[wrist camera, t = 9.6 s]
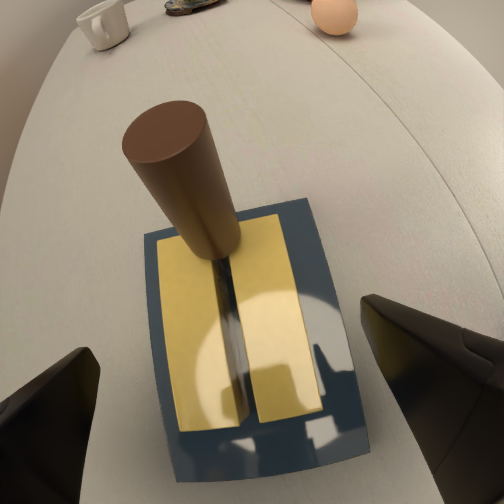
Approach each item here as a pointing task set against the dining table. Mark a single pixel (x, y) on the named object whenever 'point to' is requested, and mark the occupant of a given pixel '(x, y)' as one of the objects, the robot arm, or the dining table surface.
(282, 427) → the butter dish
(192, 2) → the burger
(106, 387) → the dining table surface
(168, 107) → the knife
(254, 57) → the dining table surface
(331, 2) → the egg
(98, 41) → the cup
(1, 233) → the dining table surface
